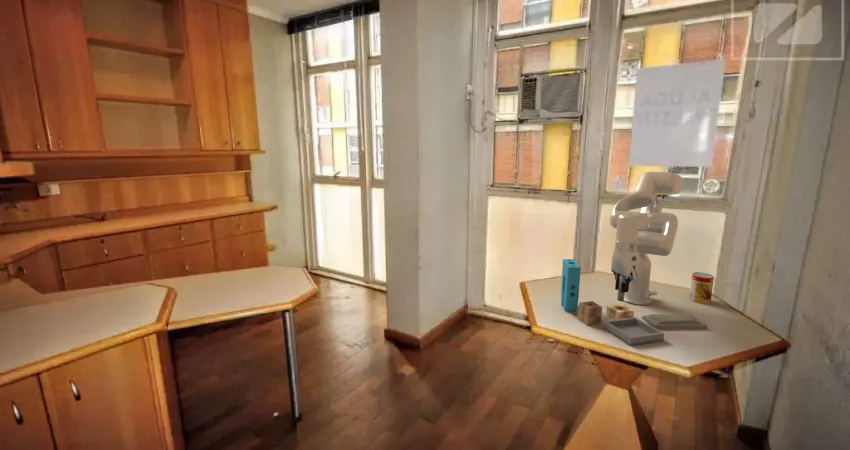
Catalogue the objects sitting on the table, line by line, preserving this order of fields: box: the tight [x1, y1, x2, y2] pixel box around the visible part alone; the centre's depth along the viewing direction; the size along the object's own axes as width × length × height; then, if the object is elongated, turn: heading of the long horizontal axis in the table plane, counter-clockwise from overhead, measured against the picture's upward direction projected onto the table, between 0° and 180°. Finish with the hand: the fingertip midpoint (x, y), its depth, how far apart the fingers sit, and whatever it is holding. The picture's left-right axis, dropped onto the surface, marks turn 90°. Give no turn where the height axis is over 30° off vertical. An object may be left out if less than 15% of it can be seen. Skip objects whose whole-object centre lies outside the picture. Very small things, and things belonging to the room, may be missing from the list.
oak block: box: [605, 303, 635, 320], centre depth 160 cm, size 7×7×4 cm
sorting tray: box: [602, 316, 666, 347], centre depth 146 cm, size 14×14×3 cm
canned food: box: [688, 271, 715, 305], centre depth 176 cm, size 8×8×12 cm
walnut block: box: [577, 300, 603, 326], centre depth 157 cm, size 6×6×7 cm
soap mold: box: [641, 313, 709, 331], centre depth 154 cm, size 10×20×4 cm, turn 89°
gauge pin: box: [616, 274, 625, 302], centre depth 158 cm, size 2×2×12 cm
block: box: [560, 258, 582, 313], centre depth 169 cm, size 12×5×20 cm, turn 172°
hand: (621, 290), depth 158 cm, fingers closed on gauge pin, 2 cm apart
